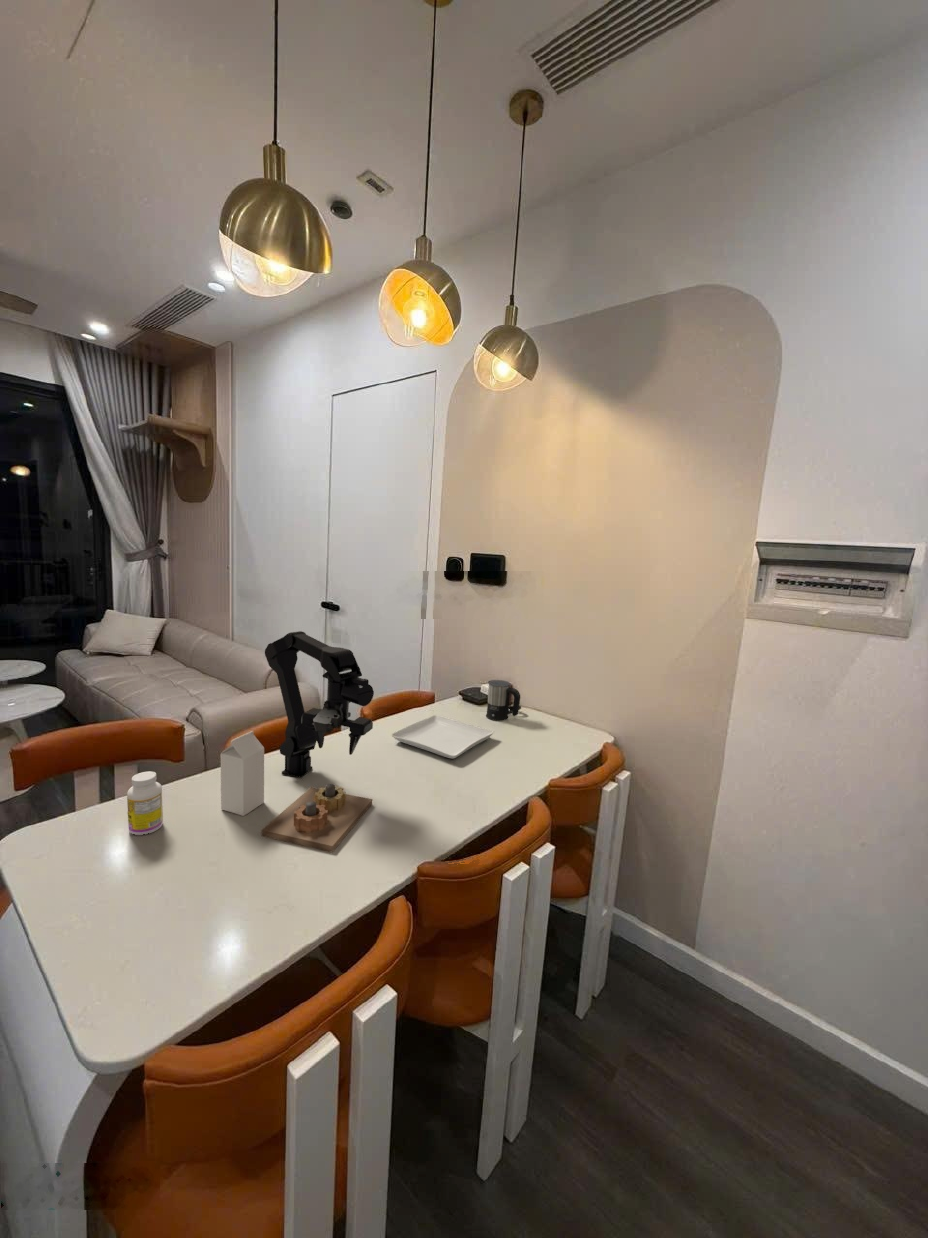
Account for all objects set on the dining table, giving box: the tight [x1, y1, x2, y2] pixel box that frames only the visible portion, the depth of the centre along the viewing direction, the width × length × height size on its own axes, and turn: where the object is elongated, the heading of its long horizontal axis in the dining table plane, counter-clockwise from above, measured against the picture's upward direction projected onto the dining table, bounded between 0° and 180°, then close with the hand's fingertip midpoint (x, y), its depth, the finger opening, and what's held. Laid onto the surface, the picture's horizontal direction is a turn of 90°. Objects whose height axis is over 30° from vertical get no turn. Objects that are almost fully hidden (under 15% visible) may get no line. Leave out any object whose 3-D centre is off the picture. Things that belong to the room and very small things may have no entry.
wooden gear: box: [314, 786, 347, 812], centre depth 122 cm, size 7×7×3 cm
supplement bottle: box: [126, 770, 164, 836], centre depth 109 cm, size 7×7×13 cm
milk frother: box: [485, 679, 522, 722], centre depth 200 cm, size 14×16×15 cm
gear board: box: [261, 783, 373, 853], centre depth 118 cm, size 18×21×6 cm
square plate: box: [390, 714, 495, 760], centre depth 170 cm, size 27×27×4 cm
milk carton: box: [220, 730, 265, 817], centre depth 120 cm, size 7×7×19 cm
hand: (335, 751), depth 131 cm, fingers open, 9 cm apart
